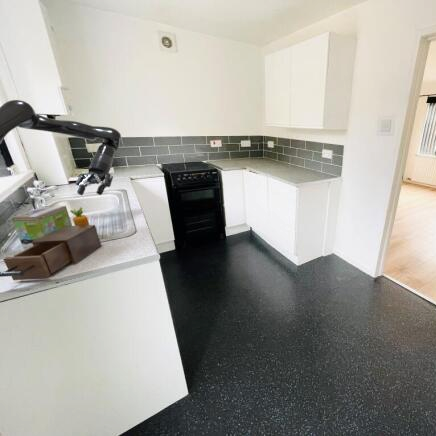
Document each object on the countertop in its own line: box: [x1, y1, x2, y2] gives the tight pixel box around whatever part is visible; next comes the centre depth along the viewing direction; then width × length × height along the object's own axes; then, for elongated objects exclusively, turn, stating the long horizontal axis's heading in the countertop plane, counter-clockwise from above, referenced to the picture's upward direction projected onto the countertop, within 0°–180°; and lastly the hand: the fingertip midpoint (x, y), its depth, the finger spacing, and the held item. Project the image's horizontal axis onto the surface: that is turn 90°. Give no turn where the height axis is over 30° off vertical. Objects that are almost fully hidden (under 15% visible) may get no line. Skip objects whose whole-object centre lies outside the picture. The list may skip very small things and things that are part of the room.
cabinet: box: [32, 224, 102, 265], centre depth 93 cm, size 15×12×10 cm
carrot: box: [69, 206, 90, 226], centre depth 105 cm, size 5×5×15 cm
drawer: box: [0, 242, 72, 281], centre depth 81 cm, size 18×10×8 cm, turn 4°
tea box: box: [11, 205, 73, 251], centre depth 103 cm, size 15×10×15 cm
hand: (89, 194), depth 109 cm, fingers open, 8 cm apart
